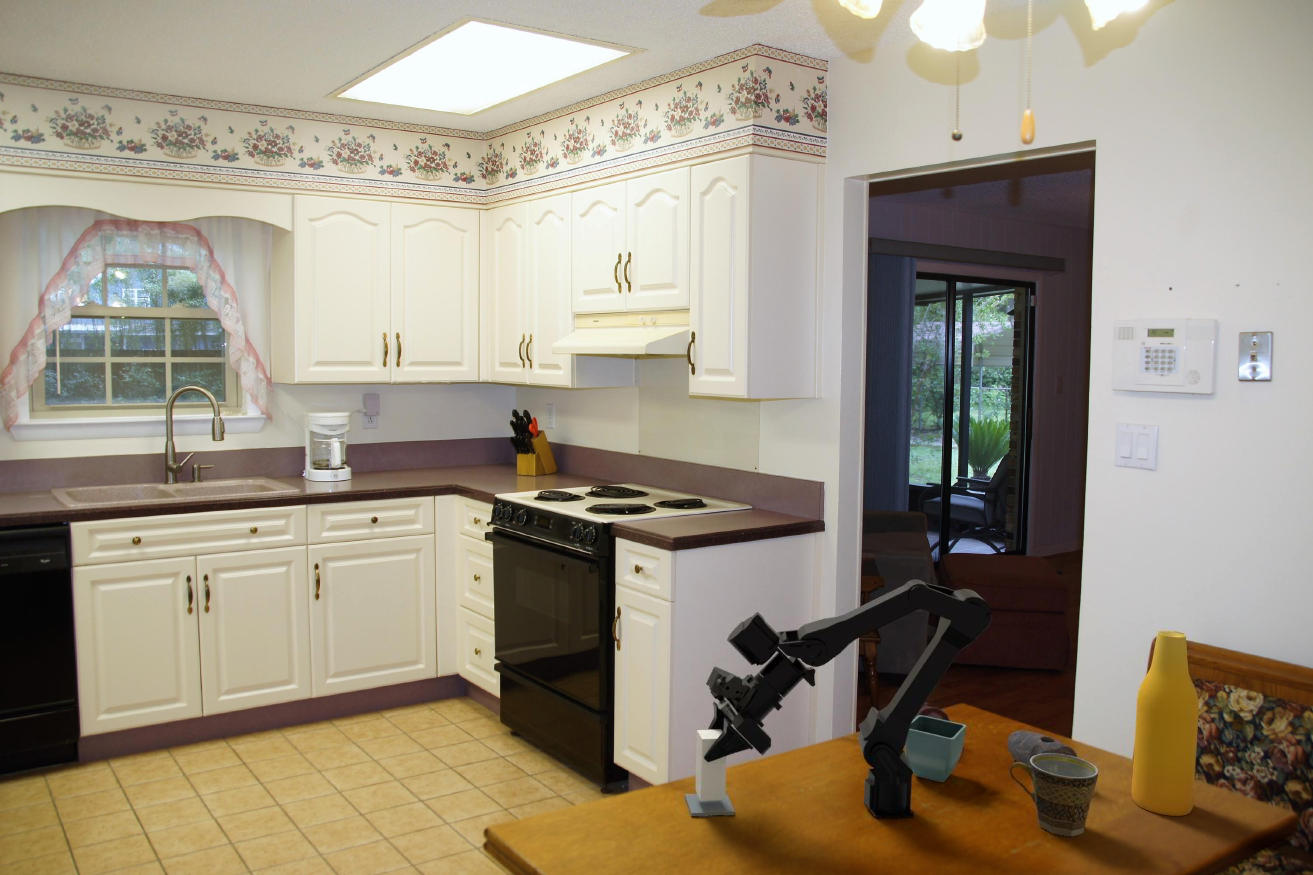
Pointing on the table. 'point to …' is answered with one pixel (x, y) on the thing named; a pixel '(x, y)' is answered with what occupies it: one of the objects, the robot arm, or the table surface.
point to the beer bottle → (1166, 731)
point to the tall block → (709, 768)
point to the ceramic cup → (1060, 791)
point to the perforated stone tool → (1035, 746)
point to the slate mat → (708, 806)
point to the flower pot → (934, 747)
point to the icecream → (932, 712)
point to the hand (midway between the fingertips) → (702, 754)
